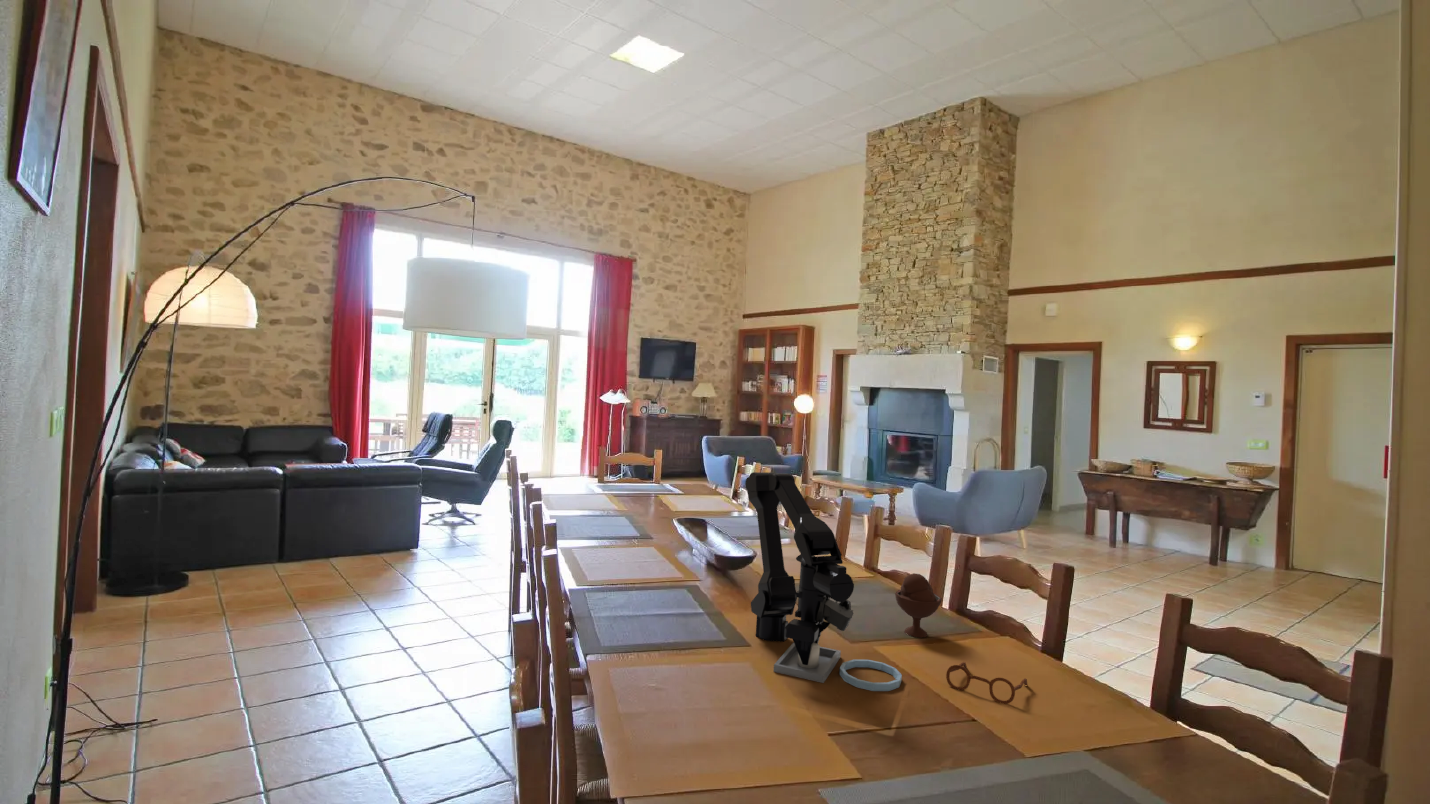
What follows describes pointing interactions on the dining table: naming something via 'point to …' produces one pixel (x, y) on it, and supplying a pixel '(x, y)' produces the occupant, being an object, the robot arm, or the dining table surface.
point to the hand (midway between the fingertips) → (808, 660)
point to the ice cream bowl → (917, 601)
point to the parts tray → (790, 667)
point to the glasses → (969, 677)
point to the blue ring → (866, 684)
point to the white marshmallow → (812, 657)
